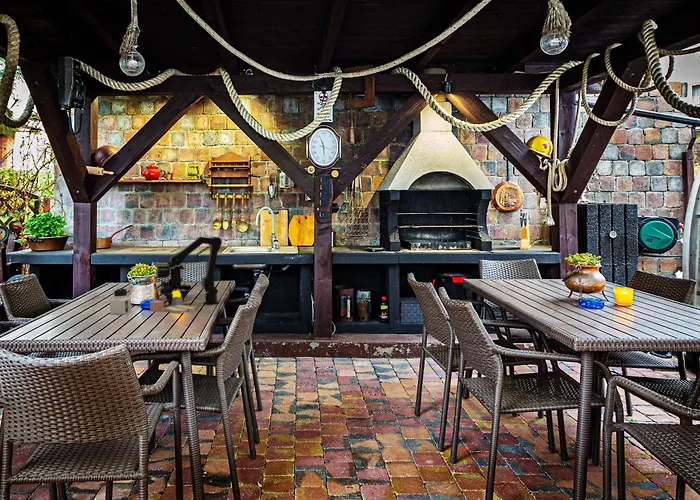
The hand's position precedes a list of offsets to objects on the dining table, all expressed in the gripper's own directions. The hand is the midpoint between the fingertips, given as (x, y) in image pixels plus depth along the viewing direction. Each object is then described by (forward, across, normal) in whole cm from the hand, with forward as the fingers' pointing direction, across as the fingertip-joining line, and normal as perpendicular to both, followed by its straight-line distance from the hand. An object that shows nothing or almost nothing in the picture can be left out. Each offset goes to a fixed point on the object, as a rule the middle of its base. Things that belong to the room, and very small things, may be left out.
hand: (176, 304), depth 313 cm
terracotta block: (+1, +14, 0) cm, 14 cm away
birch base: (+1, +8, +11) cm, 14 cm away
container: (+2, +29, -11) cm, 31 cm away
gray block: (+1, 0, 0) cm, 1 cm away
